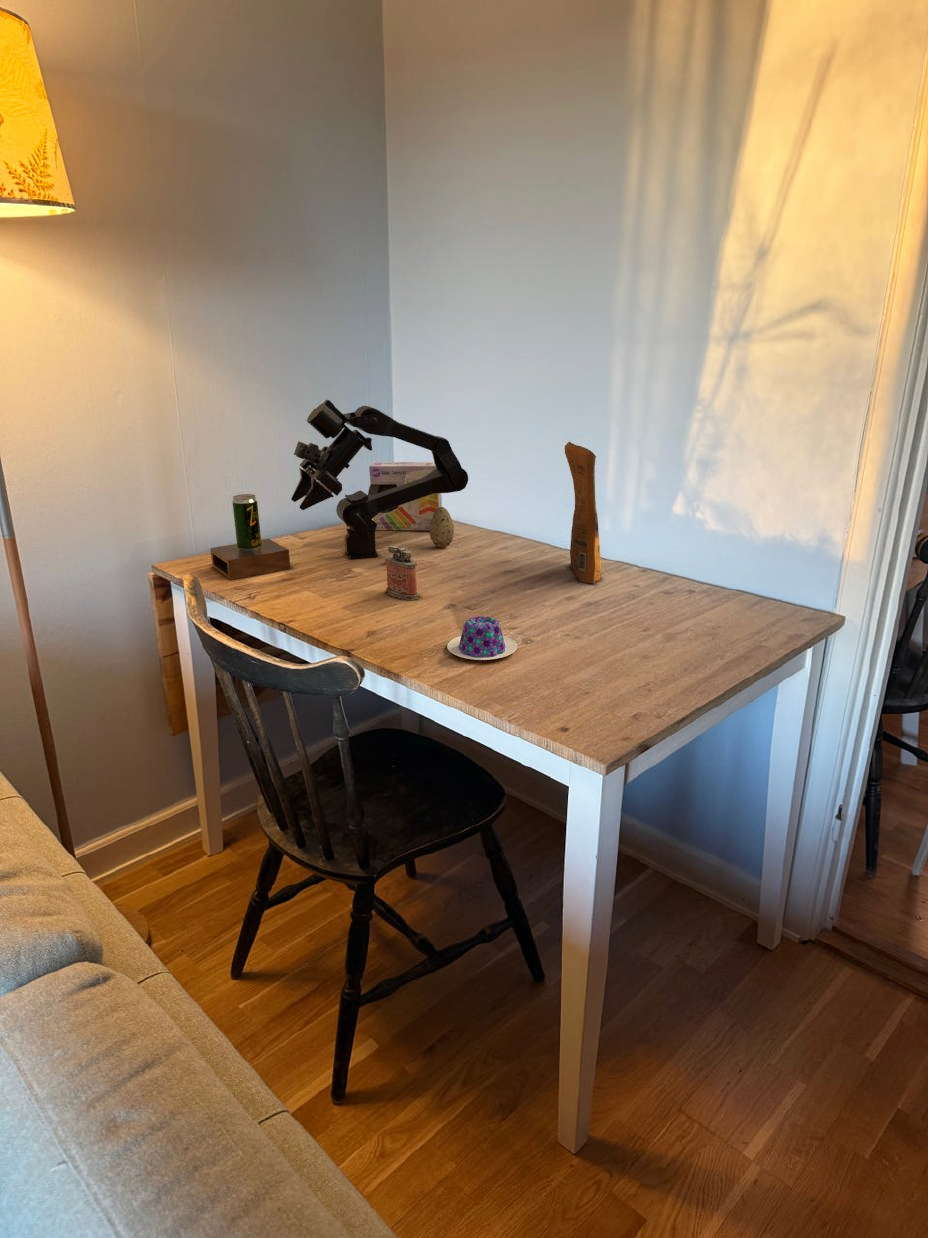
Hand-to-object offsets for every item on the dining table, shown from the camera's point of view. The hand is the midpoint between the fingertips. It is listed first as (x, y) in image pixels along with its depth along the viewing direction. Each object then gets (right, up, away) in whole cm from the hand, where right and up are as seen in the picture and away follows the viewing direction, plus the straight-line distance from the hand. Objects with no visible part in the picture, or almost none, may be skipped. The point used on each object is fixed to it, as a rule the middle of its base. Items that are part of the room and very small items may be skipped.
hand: (296, 504), depth 187 cm
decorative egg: (+33, -8, +16) cm, 37 cm away
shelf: (-11, -14, +1) cm, 18 cm away
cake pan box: (+23, -2, +32) cm, 40 cm away
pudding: (+41, -31, -46) cm, 69 cm away
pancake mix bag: (+64, -16, -6) cm, 66 cm away
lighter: (+25, -21, -18) cm, 38 cm away
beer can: (-10, -10, -1) cm, 15 cm away
